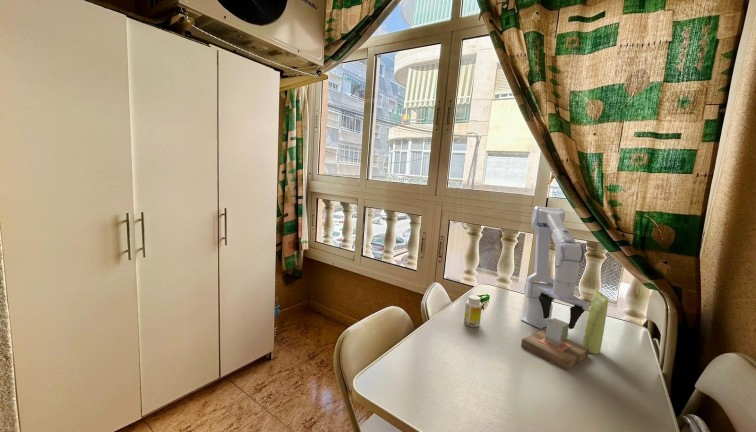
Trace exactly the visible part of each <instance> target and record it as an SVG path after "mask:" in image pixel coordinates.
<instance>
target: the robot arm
mask: <svg viewBox="0 0 756 432" xmlns="http://www.w3.org/2000/svg"><path fill="white" fill-rule="evenodd" d="M565 217H566V212H565V210H564V208H563V207H560V208H558V207H557V208H556V207H546V206H535V207H534V208H533V209H532V213H531V221H530V223H531V229H532V230H534V231H535V251H534V253H535V255H534V272H533V273H532V274H530V275H529V276H527V277H526V278H525V284H524V290H523V291H524V296H525V297H526V298H527V304H526V310H525V311H526V312H525V316H524V317H521V318H520V321H521V322H525V323H527V324H529V325H531V326H534V327H536V328H538V329H541V330H542V329H544V328H545V327H547V321H549V320H551V319H552V316H553V315H552V313H553V303H552V302H554V301H555V300H557V301H560V302H563V303H565V304H569V305H572V306H570V307H569V311H570V312H569V313H570V314H569V315H570V316H569V323H568V324H569V328H568V330H573V329H575V327H576V324H577V322H578V320H579V319H580V317H581V316H582V315H583V313H584V312H585V311H588V310H590V307H591V303H590V302H588V301H585V300H584V299H581V298H579V297H577V296H575V289H576V283H577V277H578V271H579V265H580V263H582V262H583V261H584V259H585V254H586V253H585V247H584V245H583V244H582V243H579V242H578V241H577V242H576V240H575V238H574V236H573V234H572V231H571V230H570V229H568V228H565V225H564V221H565V220H566V219H565ZM551 238H552V241H553V244H554V246H555V250H554V257H555V260H554V263H555V264H554V265H555V272H554V278H553V277H551V276H550V275H549V273H550V269H549V268H550V250H551V249H550V245H551V244H550V243H551Z"/></svg>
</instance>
